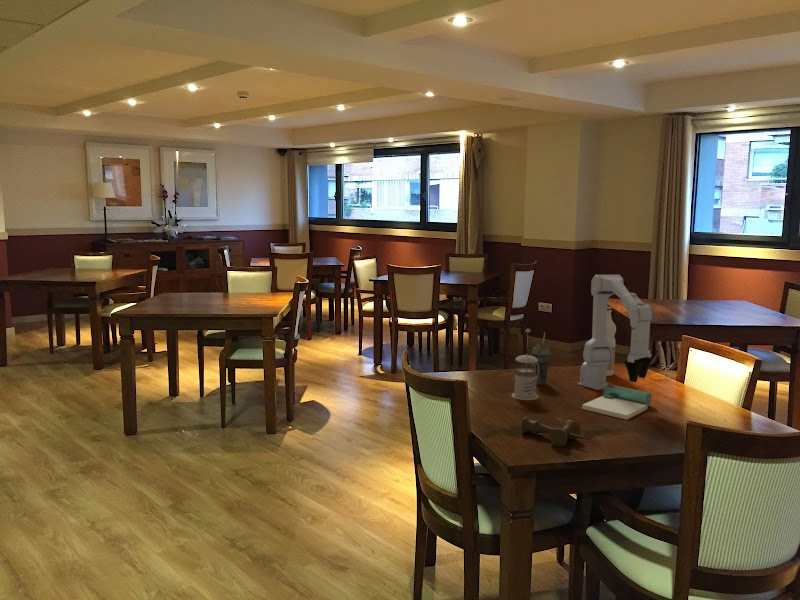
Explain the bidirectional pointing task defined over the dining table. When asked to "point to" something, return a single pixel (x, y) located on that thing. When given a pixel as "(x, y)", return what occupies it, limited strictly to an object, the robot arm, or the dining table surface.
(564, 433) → the kendama
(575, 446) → the dining table surface
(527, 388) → the french press
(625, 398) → the dark green rectangular beam
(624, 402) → the stool seat
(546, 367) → the beverage cup
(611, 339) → the fruit juice
